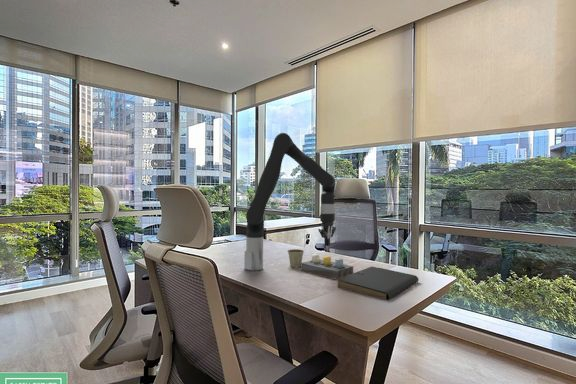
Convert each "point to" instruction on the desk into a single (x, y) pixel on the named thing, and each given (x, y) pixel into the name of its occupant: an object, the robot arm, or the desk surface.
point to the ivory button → (315, 258)
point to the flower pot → (295, 257)
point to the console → (327, 269)
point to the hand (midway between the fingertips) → (327, 245)
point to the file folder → (377, 282)
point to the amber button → (326, 260)
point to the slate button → (339, 263)
